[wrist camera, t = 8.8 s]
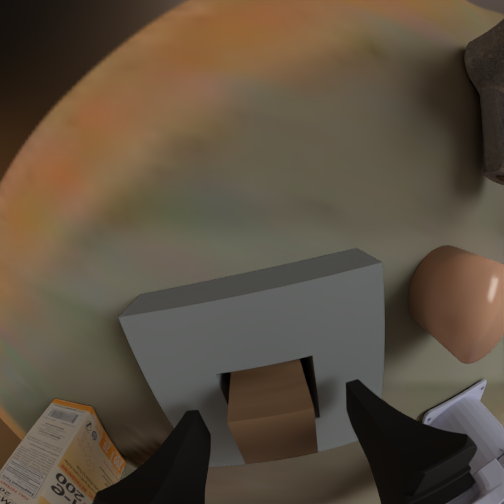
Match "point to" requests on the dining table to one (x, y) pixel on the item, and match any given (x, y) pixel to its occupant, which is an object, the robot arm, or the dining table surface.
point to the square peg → (272, 413)
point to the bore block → (264, 340)
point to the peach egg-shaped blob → (459, 301)
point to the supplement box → (61, 459)
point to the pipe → (490, 95)
